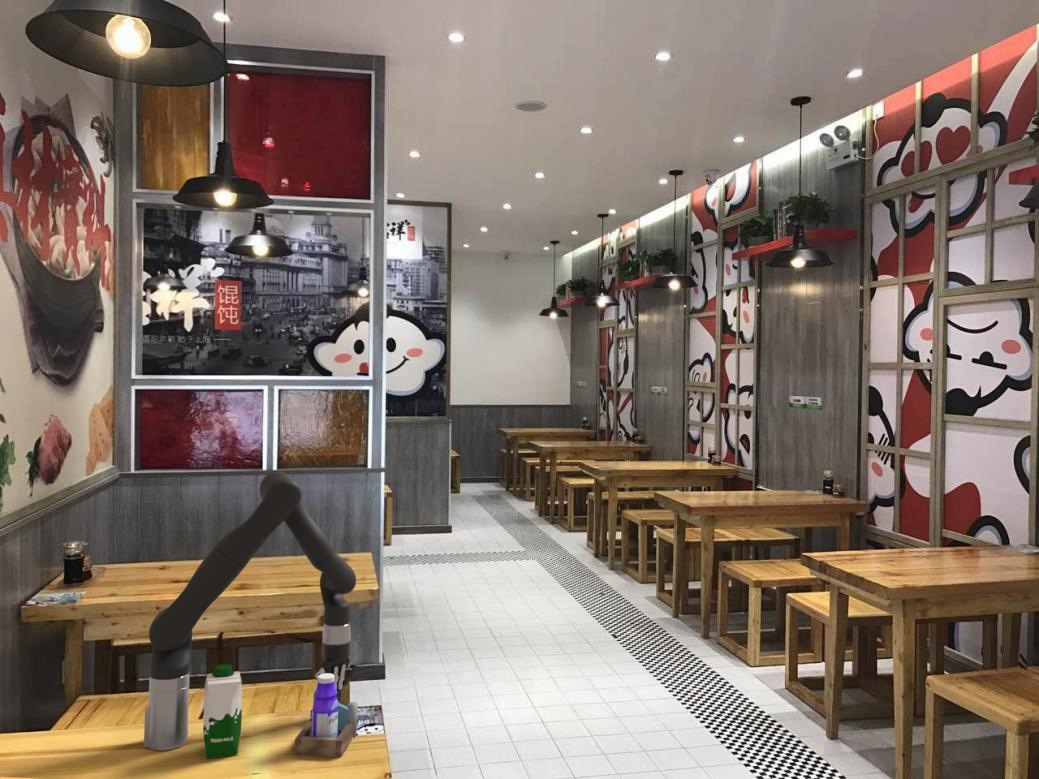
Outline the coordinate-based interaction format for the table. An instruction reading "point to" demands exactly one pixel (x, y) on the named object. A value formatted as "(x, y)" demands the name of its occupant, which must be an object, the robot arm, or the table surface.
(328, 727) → the bottle
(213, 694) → the milk carton
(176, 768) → the table surface
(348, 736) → the brown wooden tray
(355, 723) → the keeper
